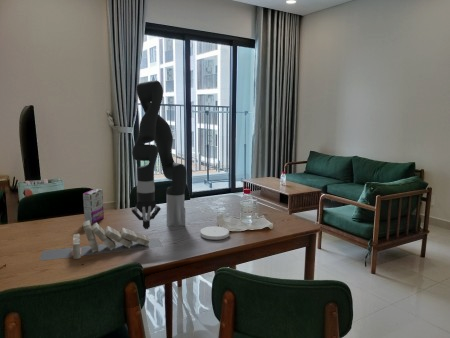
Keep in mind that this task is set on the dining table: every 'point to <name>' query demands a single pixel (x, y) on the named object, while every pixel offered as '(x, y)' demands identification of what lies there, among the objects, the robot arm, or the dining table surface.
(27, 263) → the dining table surface
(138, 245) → the domino board
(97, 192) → the candy bar box
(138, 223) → the dining table surface
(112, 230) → the ivory domino
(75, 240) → the domino
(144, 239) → the ivory domino
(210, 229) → the plastic lid
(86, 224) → the ivory domino
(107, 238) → the ivory domino
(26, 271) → the dining table surface
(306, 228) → the dining table surface
